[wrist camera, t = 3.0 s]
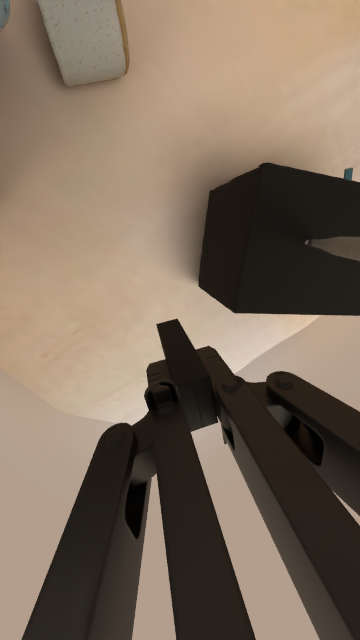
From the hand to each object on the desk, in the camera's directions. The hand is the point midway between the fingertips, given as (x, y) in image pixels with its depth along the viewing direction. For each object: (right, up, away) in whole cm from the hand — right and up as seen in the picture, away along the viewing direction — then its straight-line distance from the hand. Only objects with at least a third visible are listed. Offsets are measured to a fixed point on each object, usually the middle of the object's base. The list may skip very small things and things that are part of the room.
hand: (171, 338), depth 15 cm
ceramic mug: (-11, +35, +11) cm, 39 cm away
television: (+15, +15, +26) cm, 34 cm away
